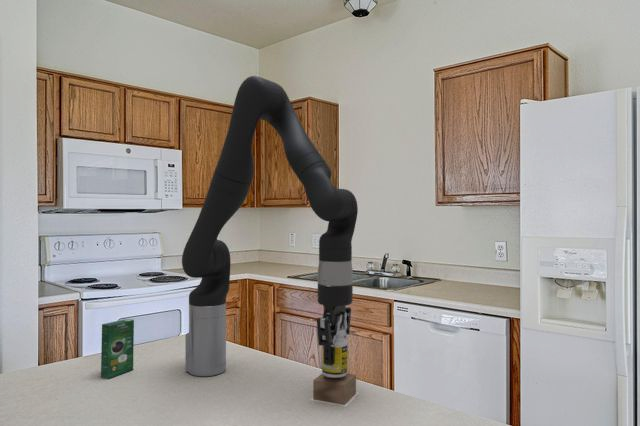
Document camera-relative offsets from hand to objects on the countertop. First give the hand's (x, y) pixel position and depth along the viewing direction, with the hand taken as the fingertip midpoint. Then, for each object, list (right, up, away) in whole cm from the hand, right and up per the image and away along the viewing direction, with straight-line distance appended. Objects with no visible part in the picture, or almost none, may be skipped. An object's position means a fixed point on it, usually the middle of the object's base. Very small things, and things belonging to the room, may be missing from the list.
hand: (334, 359), depth 105 cm
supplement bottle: (0, -3, 0) cm, 3 cm away
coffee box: (-54, -9, +17) cm, 57 cm away
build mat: (-1, -9, +3) cm, 9 cm away
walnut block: (0, -8, 0) cm, 8 cm away
